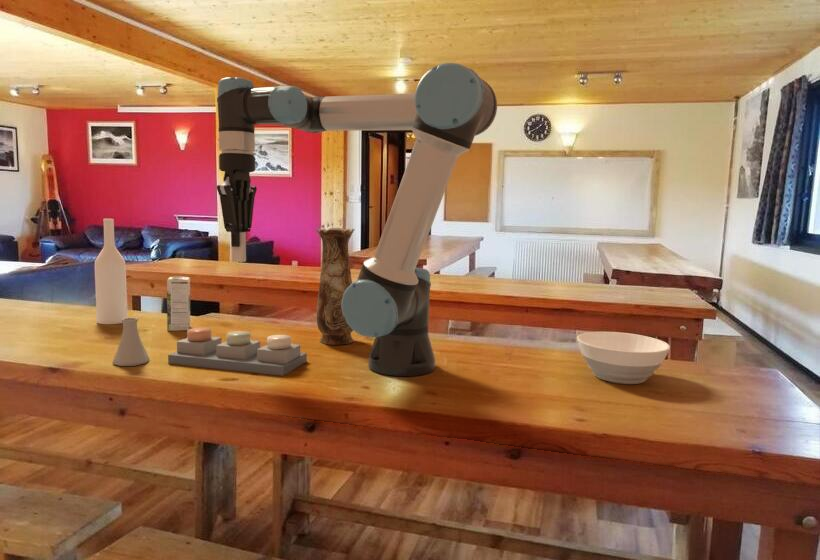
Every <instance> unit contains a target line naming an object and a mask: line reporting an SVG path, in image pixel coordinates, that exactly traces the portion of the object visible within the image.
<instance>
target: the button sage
mask: <svg viewBox="0 0 820 560" xmlns="http://www.w3.org/2000/svg"><path fill="white" fill-rule="evenodd" d="M225 338H226V341H227V344H229V345H241V346H242V345H245V344H249V343H250V340H251V332H249V331H244V330H237V331H230V332H226V337H225Z"/></svg>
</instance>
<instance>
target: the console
mask: <svg viewBox="0 0 820 560" xmlns="http://www.w3.org/2000/svg"><path fill="white" fill-rule="evenodd" d="M307 354H308V353H307V352H301V344H296V343H295V344H294V343H291V347H289V348H286V349H283V350H282V349H271V348H268V347H267V344H265V345H264V346H261V341H260V340H253V339H250V343H249V344H245V345H242V346H241V345H229V344H227V340H226V341H224V342H222V337H221V336H220V337H219V336H211V339H210V340H206V341H202V342H199V341H189V340H188V339H187V337H186V338H182V339H180V340H177V341H176V351H175V352H174V351H173V352H172V353H168V355H167V364H170V365H181V366H188V367H197V368H198V367H199V368H205V369H207V368H208V369H216V370H226V371H235V372H243V373H244V372H245V373H251V374H262V375H273V376H281V377H282V376H283V377H285V376H286V375H287V374H289V373H291V372H292V371H294V370H296V369H297V368H299V367H300V366H302V365H304V364H305V363H306V362H307V361H308V357H307V356H308V355H307Z"/></svg>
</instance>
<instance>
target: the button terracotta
mask: <svg viewBox="0 0 820 560" xmlns="http://www.w3.org/2000/svg"><path fill="white" fill-rule="evenodd" d="M186 334H187V337H186V338H187V339H188V340H189V341H199V342H202V341H206V340H210V339H211V337H212V328H210V327H194V328H189V330H186Z"/></svg>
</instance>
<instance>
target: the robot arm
mask: <svg viewBox="0 0 820 560" xmlns="http://www.w3.org/2000/svg"><path fill="white" fill-rule="evenodd" d="M216 102H217V117H218V140H217V141H218V150H219V151H220V152H221V153H220V154H218V166H219V167H218V169H219V171H221V172H224V174H223V182H222V183H221V184H217V185H216V190H217V193H218V195H219V201H220V207H221V214H222V220H223V221H222V222H223V226H224V229H225V231H226V232H228V233H230V244H231V245H230V246H231V247H230V248H231V249H230V250H231V262H232V263H233V262H235V263H245V262H247V241H246V239H247V236H246V235H247V234H246V233H247V232H248V233H249V232H251V228H252V226H253V225H252V224H253V215H254V208H255V207H254V205H255V198H256V193H257V191H258V188H257V187H256V185H255V186H253V185H252V184H251V182H252V181H251V177H250V173H254V172H255V171H256V156H255V155H254V154H253V153H255V151H256V145H255V144H256V142H255V126H256V125H257V126H259V125H278V126H282V127H285V128H291V129H296V130H299V131H304V132H306V133H308V134H321V133H323V132H327V131H329V132H330V131H333V132H336V131H340V132H342V131H344V132H345V131H349V132H350V131H412V133H413V135H414V138H415V143H414V145H413V148H412V150H411V152H410V154H409V155H410V156H409V159H408V161H407V164H406V167H405V169H404V173H403V175H402V178H401V181H400V183H399V187H398V189H397V192H396V195H395V197H394V200H393V203H392V206H391V209H390V212H389V214H388V216H387V219H386V222H385V225H384V227H383V231H382V233H381V236H380V239H379V242H378V245H377V247H376V249H375V252H374V255H373V256H371V257H369V258H367V259H365V260H364V261H363V263H362V265H361V269H360V272H359V275H358V277H357V280H356V281H353V282H352V284H351V285H350V286H349V287H348V288H347V289H346V291H345V292H344V294H343V297H342V304H341V306H342V313H343V316H344V317H345V320H346V322H347V324H348V325H349V326H350V327H351V329H353V331H354V332H355V333H356V334H358V335H360V336H362V337H366V338H374V341H373V344H372V346H371V349H370V353H369V356H368V368H369V370H371V371H373V372H375V373H378V374H380V375H381V374H382V375H387V376H395V377H414V376H415V377H416V376H422V375H426V374H430V373H432V372H433V371H435V369H436V357H435V354H434V349H433V346H432V343H431V340H430V335H429V326H430V324H429V323H430V301H431V300H430V299H431V298H430V297H431V286H432V282H431V274H430V272H429V270H428V269H426V268H423V267H421V268H419V267H417V265H418V263H419V260H420V257H421V255H422V252H423V250H424V247H425V244H426V242H427V239H428V236H429V234H430V231H431V229H432V226H433V223H434V221H435V218H436V216H437V213H438V210H439V208H440V205H441V203H442V200H443V198H444V194H445V192H446V189H447V187H448V184H449V181H450V179H451V177H452V175H453V171H454V169H455V166H456V164H457V161H458V158H459V157H460V156H461V155H464V154H466V153H468V152H469V151H470V149H471V147H472V144H473V143H474V142H473V141H474V138H475V137H476V136H478V135H481V134H483V133H484V132H486V131H487V130H488V129H489V128H490V127H491V125H492V124H493V123H494V120H495V118H496V116H497V112H498V99H497V96H496V93H495V92H494V89H493V88H492V87H491V85H490V84H489V83H487V81H485V80H484V79H482V78H481V77H480V76H479V75H478V74H477V73H476V72H475V70H473V69H472V68H469V67H468V66H465V65H462V64H459V63H455V62H445V63H441V64H438V65H435V66H434V67H432V68H430V69H429V70H427V72H425V73H424V75H422V77H421V78H420V80H419V82H418V83H417V86H416V88H415V92H413V93H391V94H387V93H385V94H360V95H358V94H356V95H334V96H330V95H329V96H327V95H326V96H308V95H305V94H304V92H302V89H301V88H300V87H299V86H296V85H285V84H284V85H282V84H281V85H278V86H277V85H276V86H265V87H264V86H263V87H255V85H254V81H252V80H251V79H248V78H244V77H232V76H231V77H230V76H229V77H224V78H221V79H220V80H218V83H217V97H216Z"/></svg>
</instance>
